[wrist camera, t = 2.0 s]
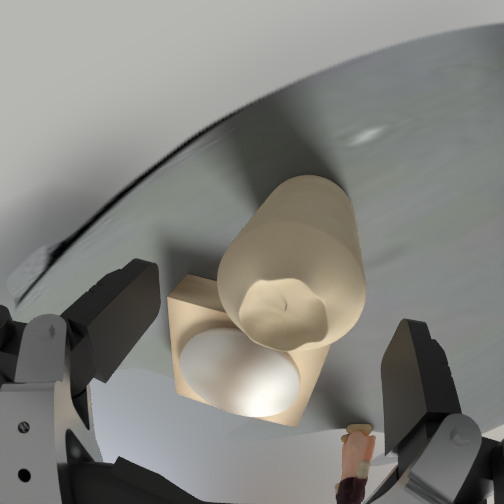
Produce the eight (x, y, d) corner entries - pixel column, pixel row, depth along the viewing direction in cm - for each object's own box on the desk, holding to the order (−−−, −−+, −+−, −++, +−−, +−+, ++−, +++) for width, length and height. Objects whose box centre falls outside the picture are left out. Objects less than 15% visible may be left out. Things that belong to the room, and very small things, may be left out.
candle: (287, 157, 17) (235, 205, 8) (371, 201, 17) (403, 293, 8) (252, 234, 20) (184, 334, 11) (327, 272, 19) (313, 394, 11)
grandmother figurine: (369, 447, 27) (359, 545, 16) (336, 446, 28) (319, 545, 17) (383, 411, 24) (378, 532, 13) (344, 411, 25) (327, 532, 14)
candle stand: (335, 307, 20) (332, 346, 17) (302, 399, 25) (295, 434, 22) (187, 273, 22) (161, 303, 19) (190, 369, 27) (173, 399, 24)
